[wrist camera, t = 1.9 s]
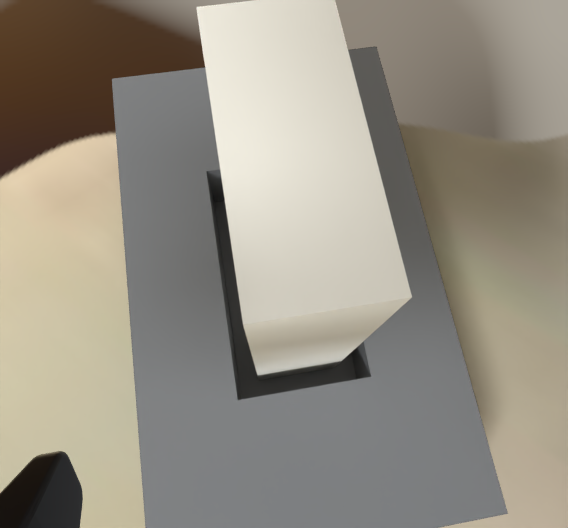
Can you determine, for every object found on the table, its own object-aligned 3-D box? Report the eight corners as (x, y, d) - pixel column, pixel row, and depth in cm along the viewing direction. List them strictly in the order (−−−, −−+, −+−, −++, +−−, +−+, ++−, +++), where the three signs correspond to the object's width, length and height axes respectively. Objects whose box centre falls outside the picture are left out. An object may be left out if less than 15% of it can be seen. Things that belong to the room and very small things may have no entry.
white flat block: (335, 367, 19) (412, 297, 9) (258, 380, 19) (243, 324, 8) (302, 205, 21) (332, -9, 11) (233, 215, 21) (196, 7, 11)
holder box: (465, 497, 18) (507, 513, 15) (173, 555, 18) (149, 585, 14) (361, 98, 24) (376, 46, 21) (134, 128, 23) (111, 78, 20)
